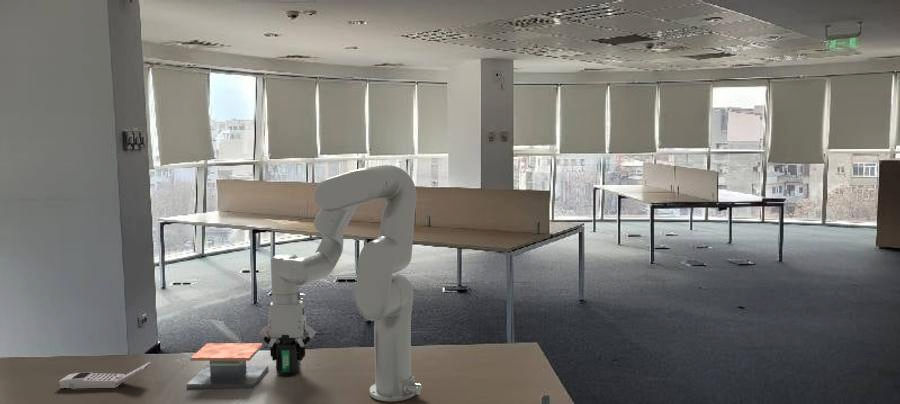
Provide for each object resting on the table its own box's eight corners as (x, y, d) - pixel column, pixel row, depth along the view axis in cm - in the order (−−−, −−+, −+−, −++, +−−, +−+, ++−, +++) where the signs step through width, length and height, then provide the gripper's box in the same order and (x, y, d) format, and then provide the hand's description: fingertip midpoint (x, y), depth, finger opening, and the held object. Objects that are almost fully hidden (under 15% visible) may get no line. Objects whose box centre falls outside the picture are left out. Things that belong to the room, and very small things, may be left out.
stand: (268, 369, 195) (267, 342, 194) (253, 388, 181) (251, 359, 180) (206, 369, 195) (205, 342, 194) (186, 388, 181) (185, 359, 181)
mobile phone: (143, 368, 181) (48, 369, 180) (144, 389, 181) (50, 391, 181) (152, 361, 187) (61, 362, 186) (153, 381, 187) (62, 382, 187)
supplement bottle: (289, 379, 188) (287, 337, 186) (271, 374, 191) (269, 333, 189) (305, 371, 193) (304, 330, 192) (287, 367, 197) (286, 327, 195)
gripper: (319, 294, 193) (321, 354, 195) (259, 294, 193) (261, 354, 196) (313, 301, 186) (315, 363, 188) (251, 301, 186) (253, 363, 188)
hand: (288, 358), depth 192 cm, fingers closed on supplement bottle, 6 cm apart
